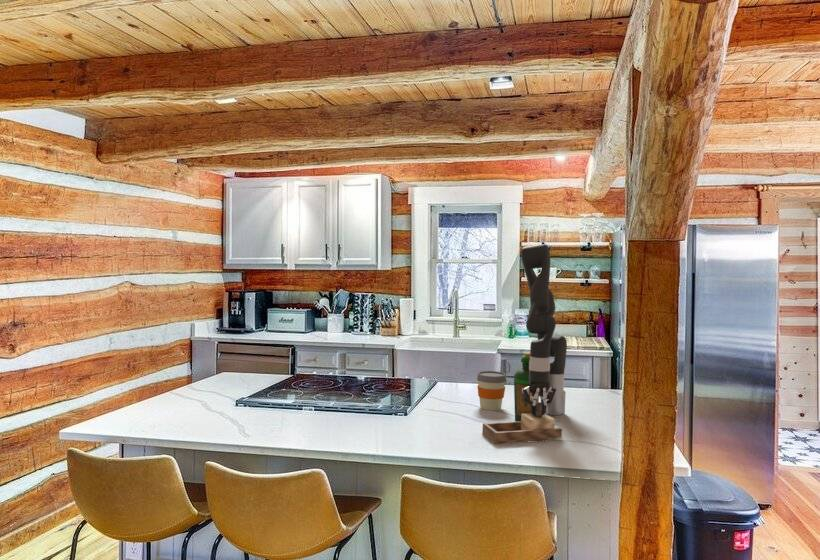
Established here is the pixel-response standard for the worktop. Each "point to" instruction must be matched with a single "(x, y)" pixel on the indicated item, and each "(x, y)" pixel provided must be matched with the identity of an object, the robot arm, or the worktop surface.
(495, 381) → the reusable coffee cup
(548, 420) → the light wooden block
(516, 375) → the bottle
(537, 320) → the robot arm
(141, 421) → the worktop surface
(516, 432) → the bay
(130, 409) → the worktop surface
